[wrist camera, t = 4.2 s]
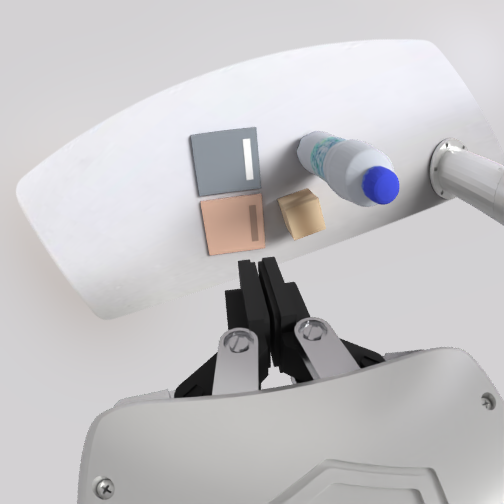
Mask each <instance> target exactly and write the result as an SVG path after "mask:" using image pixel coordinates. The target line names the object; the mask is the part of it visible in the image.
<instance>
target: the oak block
mask: <svg viewBox="0 0 504 504" xmlns="http://www.w3.org/2000/svg"><path fill="white" fill-rule="evenodd" d="M277 200H278V203H279V206H280V209H281V212H282V215H283V218H284V221H285V224H286V227H287V229H288V230H289V232H290V234H291V235H292V237H293V239H294V241H295V240H297V239H300V238H303V237H305V236H308V235H311V234H313V233H316V232H318V231H321V230H324V229H326V227H325V223H324V219H323V215H322V211H321V207H320V203H319V199H318V197H316V196H315V195H314V194H313V193H312V192H311V191H310V190H309V189H308V188H307V189H304V190H301V191H298V192H295V193H293V194H290V195H287V196H284V197H281V198H279V199H277Z"/></svg>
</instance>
